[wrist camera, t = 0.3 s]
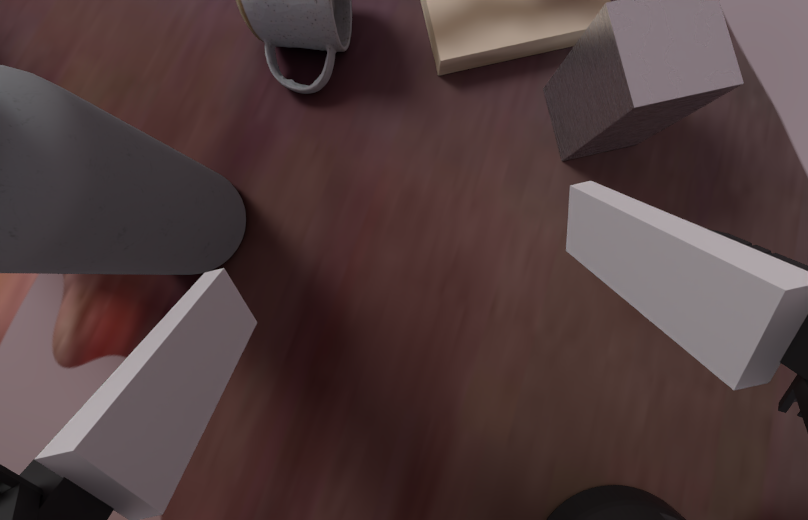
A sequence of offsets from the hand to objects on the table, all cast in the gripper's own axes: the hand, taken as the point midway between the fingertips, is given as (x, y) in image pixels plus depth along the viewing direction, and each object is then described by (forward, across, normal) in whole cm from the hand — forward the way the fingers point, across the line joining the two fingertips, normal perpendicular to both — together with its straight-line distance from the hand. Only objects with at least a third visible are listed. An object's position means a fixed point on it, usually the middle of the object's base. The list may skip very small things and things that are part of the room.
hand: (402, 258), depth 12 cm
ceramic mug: (+26, +4, -10) cm, 29 cm away
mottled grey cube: (+20, -20, +1) cm, 28 cm away
